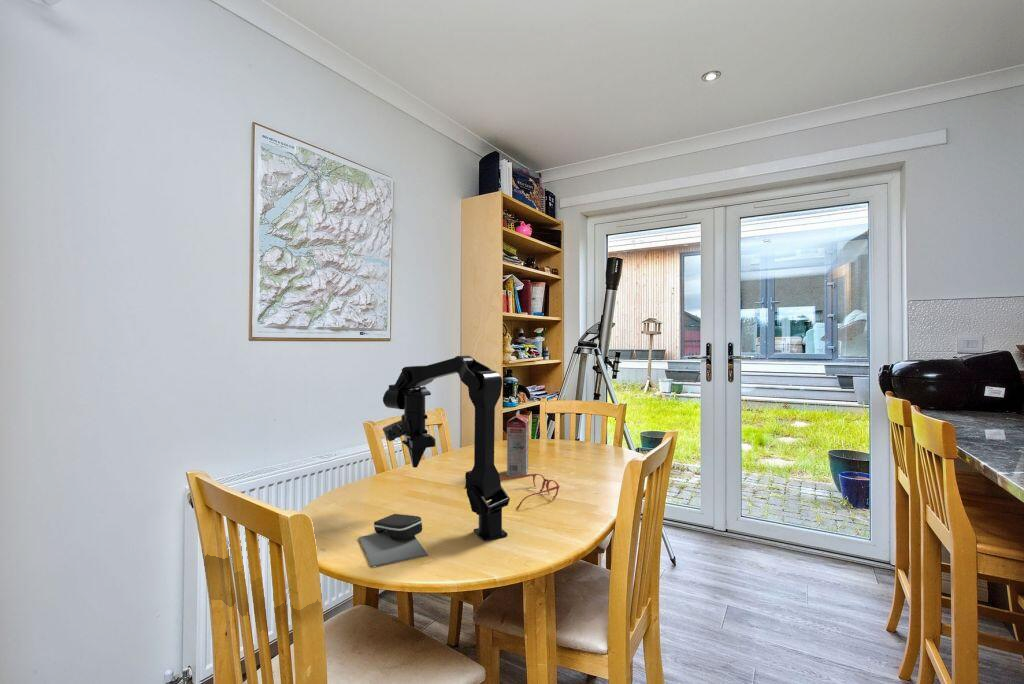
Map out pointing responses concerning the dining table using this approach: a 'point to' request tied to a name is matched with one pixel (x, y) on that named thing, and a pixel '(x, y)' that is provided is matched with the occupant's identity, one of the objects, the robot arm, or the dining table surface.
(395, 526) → the battery charger
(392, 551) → the mat
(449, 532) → the dining table surface
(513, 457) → the juice carton
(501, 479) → the red eyeglasses
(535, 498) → the dining table surface
